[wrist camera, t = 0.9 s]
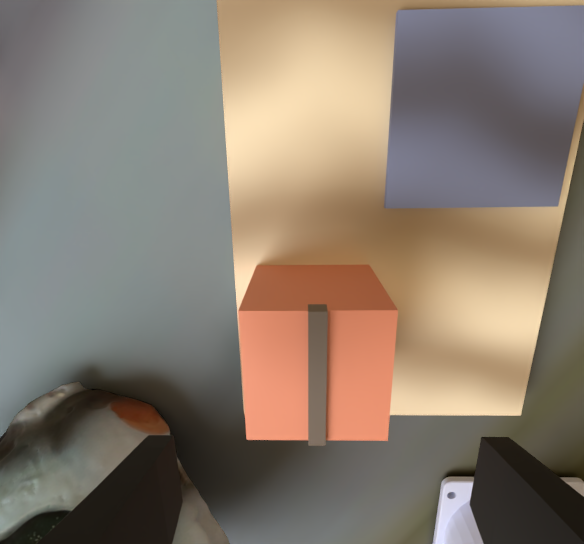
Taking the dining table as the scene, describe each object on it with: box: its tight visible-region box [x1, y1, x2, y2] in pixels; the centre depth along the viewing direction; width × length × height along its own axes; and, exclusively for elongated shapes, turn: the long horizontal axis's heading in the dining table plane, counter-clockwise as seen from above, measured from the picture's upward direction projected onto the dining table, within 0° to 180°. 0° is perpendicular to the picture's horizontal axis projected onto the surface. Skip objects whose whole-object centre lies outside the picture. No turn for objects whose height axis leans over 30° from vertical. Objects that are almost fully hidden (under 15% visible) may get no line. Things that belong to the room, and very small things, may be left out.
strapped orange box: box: [238, 265, 398, 446], centre depth 14 cm, size 5×5×5 cm
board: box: [217, 0, 584, 415], centre depth 15 cm, size 19×14×4 cm
